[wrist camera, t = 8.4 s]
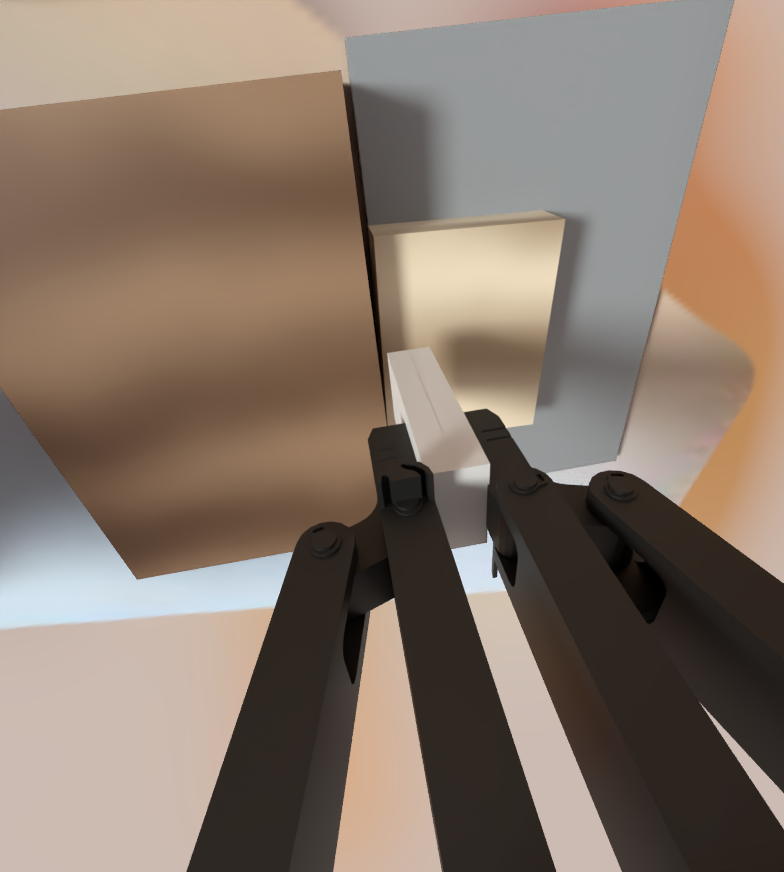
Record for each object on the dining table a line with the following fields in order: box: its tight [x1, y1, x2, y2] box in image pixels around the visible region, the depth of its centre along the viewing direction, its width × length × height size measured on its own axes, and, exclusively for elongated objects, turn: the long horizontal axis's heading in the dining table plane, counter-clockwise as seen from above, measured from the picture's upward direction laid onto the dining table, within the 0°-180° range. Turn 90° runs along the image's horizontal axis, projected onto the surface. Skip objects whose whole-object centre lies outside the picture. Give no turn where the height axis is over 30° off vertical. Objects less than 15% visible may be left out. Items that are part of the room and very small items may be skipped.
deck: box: [0, 70, 387, 579], centre depth 18 cm, size 18×13×4 cm
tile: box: [368, 210, 566, 428], centre depth 19 cm, size 9×7×2 cm
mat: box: [345, 0, 734, 473], centre depth 20 cm, size 20×13×1 cm, turn 6°
